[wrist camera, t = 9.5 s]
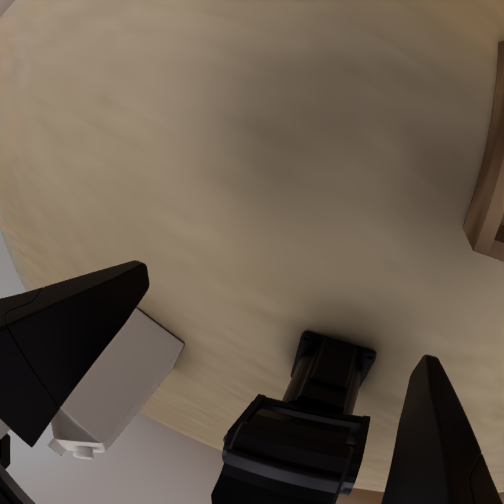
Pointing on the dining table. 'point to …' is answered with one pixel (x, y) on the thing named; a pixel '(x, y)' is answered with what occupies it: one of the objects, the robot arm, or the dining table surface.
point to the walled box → (490, 182)
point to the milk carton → (115, 387)
